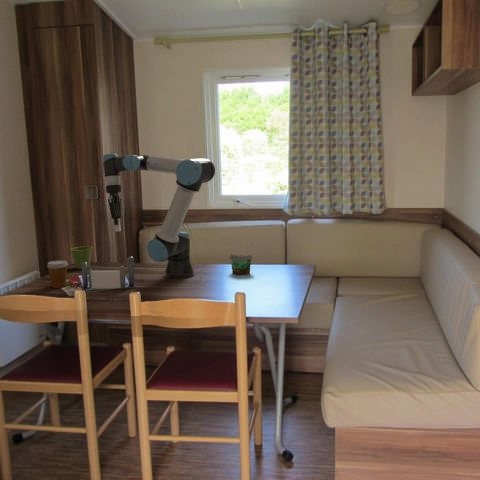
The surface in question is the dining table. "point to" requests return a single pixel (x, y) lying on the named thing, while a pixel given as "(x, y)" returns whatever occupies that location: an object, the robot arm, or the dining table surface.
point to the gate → (107, 278)
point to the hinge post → (84, 276)
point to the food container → (240, 264)
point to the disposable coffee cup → (58, 273)
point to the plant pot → (82, 255)
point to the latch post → (131, 272)
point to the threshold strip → (106, 288)
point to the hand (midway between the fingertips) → (117, 231)
